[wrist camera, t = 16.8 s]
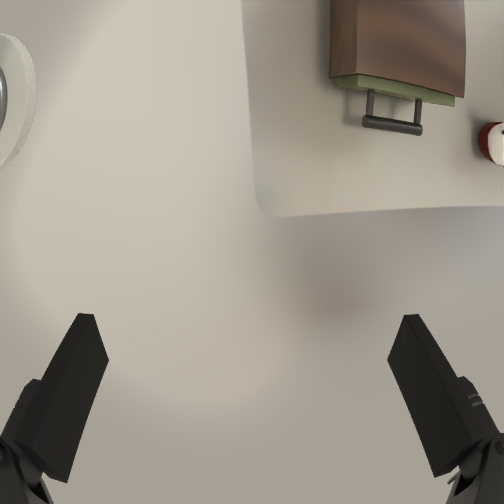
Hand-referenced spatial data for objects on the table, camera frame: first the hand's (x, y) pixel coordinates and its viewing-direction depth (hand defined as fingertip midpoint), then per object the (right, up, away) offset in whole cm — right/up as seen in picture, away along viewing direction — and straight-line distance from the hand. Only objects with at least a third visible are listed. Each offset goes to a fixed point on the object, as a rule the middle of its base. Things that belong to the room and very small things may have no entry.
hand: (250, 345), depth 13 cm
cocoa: (+34, +21, +23) cm, 46 cm away
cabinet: (+15, +30, +17) cm, 38 cm away
